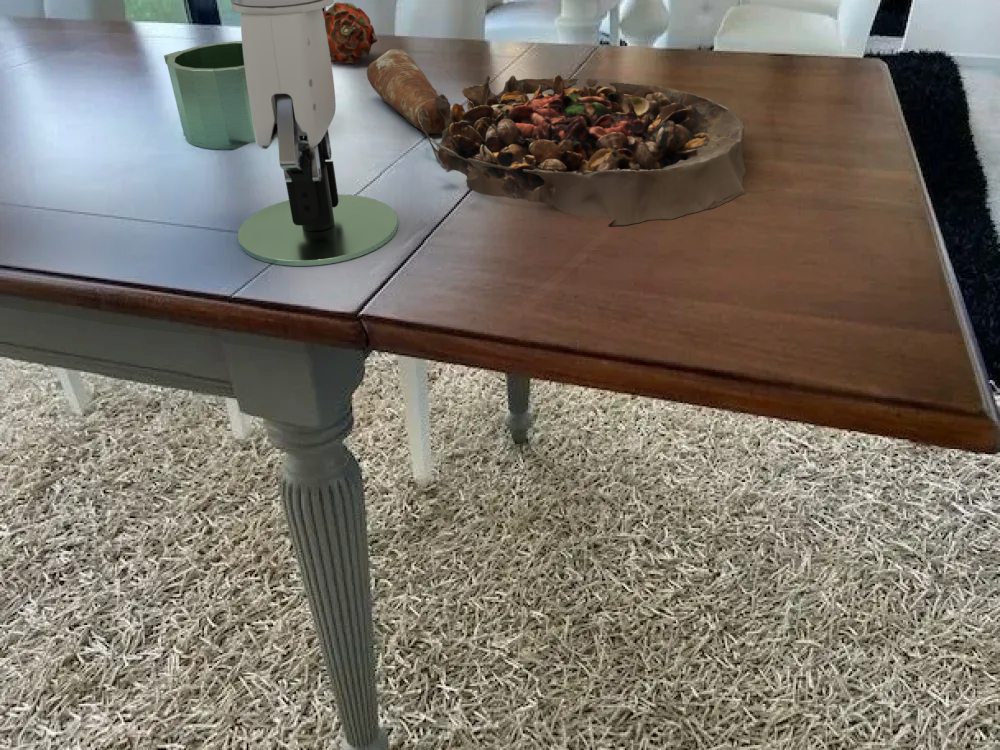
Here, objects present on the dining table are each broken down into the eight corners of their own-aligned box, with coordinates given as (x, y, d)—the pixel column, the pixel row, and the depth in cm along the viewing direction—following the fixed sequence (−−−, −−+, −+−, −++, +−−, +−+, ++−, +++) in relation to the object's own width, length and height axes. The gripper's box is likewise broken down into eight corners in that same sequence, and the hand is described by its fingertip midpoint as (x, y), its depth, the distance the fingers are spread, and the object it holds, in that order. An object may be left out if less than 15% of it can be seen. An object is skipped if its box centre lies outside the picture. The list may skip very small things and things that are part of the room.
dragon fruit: (366, 81, 120) (327, 77, 129) (401, 35, 121) (360, 34, 130) (323, 36, 114) (286, 34, 123) (361, -12, 115) (321, -10, 124)
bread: (415, 90, 110) (412, 45, 107) (458, 136, 95) (455, 85, 92) (367, 96, 109) (363, 50, 106) (403, 143, 94) (399, 92, 91)
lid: (330, 287, 67) (318, 212, 63) (206, 251, 73) (188, 181, 69) (428, 222, 77) (423, 154, 73) (311, 195, 82) (301, 130, 79)
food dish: (387, 136, 99) (381, 66, 94) (640, 103, 108) (644, 39, 104) (494, 250, 71) (492, 158, 67) (821, 193, 80) (837, 109, 76)
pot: (261, 160, 91) (245, 79, 86) (145, 135, 98) (125, 59, 94) (337, 125, 99) (326, 50, 95) (225, 105, 107) (210, 34, 102)
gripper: (256, -34, 70) (293, 180, 80) (197, 8, 56) (250, 258, 67) (347, -36, 70) (372, 178, 80) (309, 5, 56) (345, 256, 67)
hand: (316, 213), depth 73 cm, fingers closed on lid, 2 cm apart
